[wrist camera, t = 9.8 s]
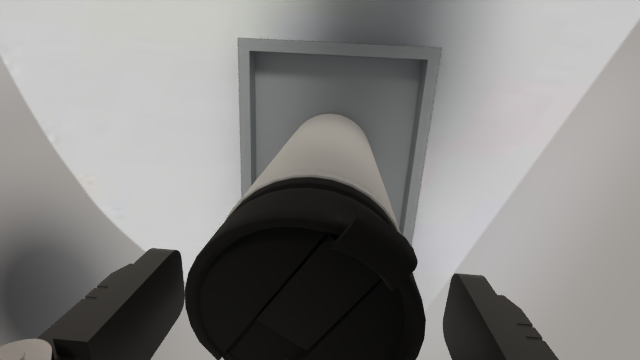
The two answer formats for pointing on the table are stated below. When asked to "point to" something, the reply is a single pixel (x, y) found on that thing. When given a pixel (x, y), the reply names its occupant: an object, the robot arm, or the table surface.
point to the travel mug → (310, 260)
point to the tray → (340, 105)
